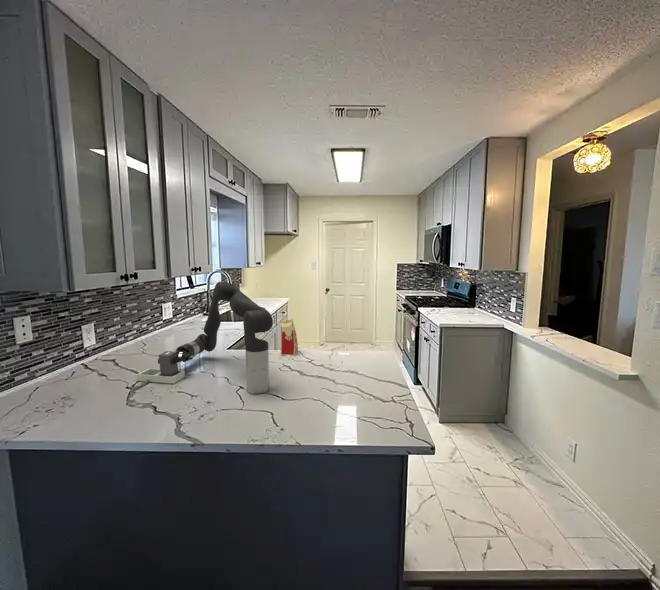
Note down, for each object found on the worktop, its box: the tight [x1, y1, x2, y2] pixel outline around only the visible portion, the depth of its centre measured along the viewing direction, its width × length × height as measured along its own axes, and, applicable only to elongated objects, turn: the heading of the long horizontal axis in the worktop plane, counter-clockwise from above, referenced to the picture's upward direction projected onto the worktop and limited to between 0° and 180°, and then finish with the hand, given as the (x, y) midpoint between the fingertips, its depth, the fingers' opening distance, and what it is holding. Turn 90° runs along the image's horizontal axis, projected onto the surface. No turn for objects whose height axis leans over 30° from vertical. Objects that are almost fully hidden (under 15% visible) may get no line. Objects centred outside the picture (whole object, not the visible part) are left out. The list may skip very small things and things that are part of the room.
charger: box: [158, 350, 179, 377], centre depth 149 cm, size 5×5×12 cm
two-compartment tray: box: [132, 368, 186, 391], centre depth 147 cm, size 17×18×3 cm
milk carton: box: [280, 318, 299, 357], centre depth 190 cm, size 9×9×20 cm
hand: (165, 361), depth 147 cm, fingers open, 6 cm apart
